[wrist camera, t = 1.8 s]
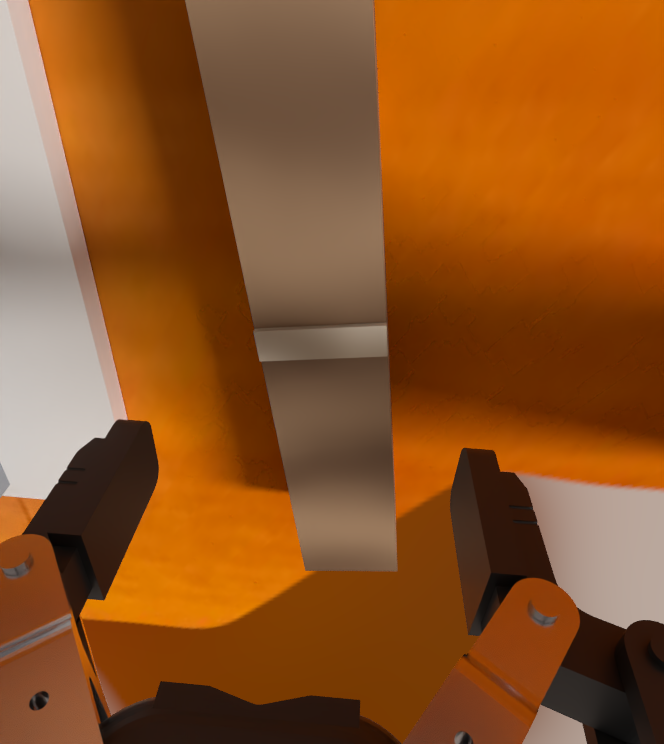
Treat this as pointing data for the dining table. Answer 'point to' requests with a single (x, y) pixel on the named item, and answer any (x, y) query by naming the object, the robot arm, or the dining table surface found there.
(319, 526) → the walnut beam
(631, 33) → the dining table surface
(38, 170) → the stand
